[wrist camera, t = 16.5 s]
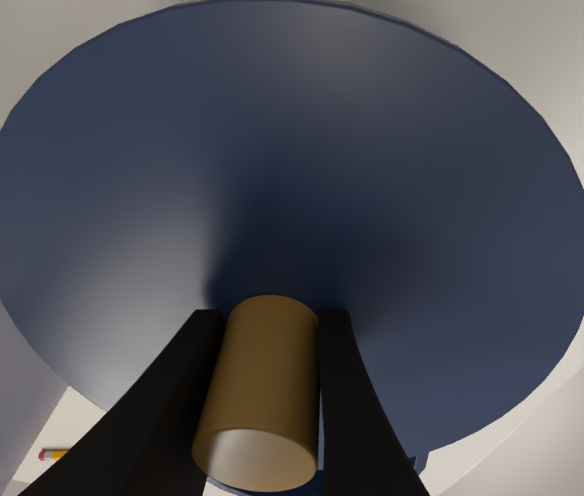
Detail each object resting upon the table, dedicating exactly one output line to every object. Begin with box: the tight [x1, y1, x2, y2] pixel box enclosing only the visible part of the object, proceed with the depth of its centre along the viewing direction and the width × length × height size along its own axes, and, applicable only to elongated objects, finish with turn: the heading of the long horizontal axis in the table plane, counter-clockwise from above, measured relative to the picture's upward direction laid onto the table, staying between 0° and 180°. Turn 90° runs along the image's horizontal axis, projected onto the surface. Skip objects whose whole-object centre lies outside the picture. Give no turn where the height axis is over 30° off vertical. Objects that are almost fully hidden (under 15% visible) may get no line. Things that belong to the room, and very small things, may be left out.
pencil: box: [38, 450, 68, 461], centre depth 34 cm, size 1×13×1 cm, turn 100°
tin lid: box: [0, 0, 584, 492], centre depth 9 cm, size 14×14×4 cm
